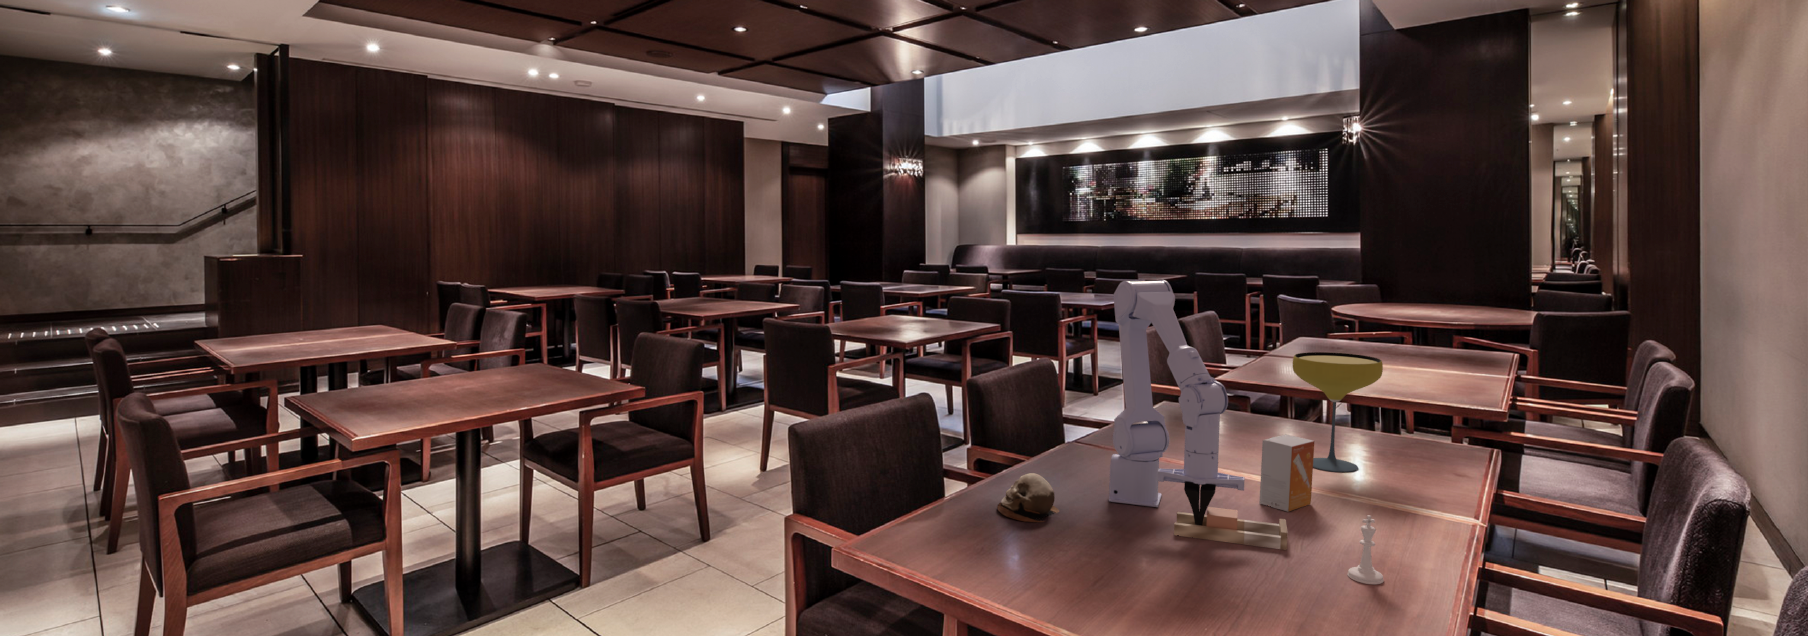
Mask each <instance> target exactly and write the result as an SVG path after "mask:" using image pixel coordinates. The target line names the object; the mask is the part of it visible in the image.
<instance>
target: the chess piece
mask: <svg viewBox="0 0 1808 636" xmlns="http://www.w3.org/2000/svg"><path fill="white" fill-rule="evenodd" d="M1375 521H1376V520H1375V519H1373V518H1372V515H1369V514H1368V515H1366V518H1362V523H1363V525H1361V526H1360V530H1361V534H1362V537H1363V539H1360V540H1359V544H1361V545H1362V548H1363V549H1362V554H1361V558H1360V562H1359V564H1358V565H1357V566H1353V567H1350V568H1349V569H1348V571H1347V577H1348V578H1350V579H1351V580H1353V581H1355V582H1358V583H1361V584H1366V585H1380V584H1383V583H1384V575H1383V574H1382V573H1381V572H1380V571H1377V570H1376V569H1375V567H1374V566H1373V561H1372V548H1371V547H1375V546H1376V543H1375V541H1374V540H1372V539H1373V537H1374V536H1375V533H1376V528H1375V527H1374V526H1372V525H1371V524H1372V523H1373V524H1374V523H1376V522H1375ZM1364 524H1365V525H1364Z"/></svg>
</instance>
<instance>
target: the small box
mask: <svg viewBox="0 0 1808 636" xmlns="http://www.w3.org/2000/svg"><path fill="white" fill-rule="evenodd" d="M1314 456H1315V440H1313V439H1308V438H1304V437H1299V436H1296V435H1290V434H1286V433H1285V434H1282V435H1279V436H1278V435H1277V436H1272V437H1271V438H1270V437H1269V438H1266V439H1263V440H1262V447H1261V461H1260V462H1261V465H1260V467H1261V468H1260V486H1259V487H1260V488H1259V504H1261V505H1264V506H1267V505H1269V506H1268V507H1270V506H1271V507H1270V508H1274V509H1278V510H1279V511H1280V510H1281V511H1284V512H1287V513H1288V512H1291V511H1294V510H1297V509H1301V508H1304V507H1306V506H1310V505H1311V503H1312V492H1313V491H1312V488H1313V487H1312V485H1313V472H1314V471H1313V469H1314V468H1313V458H1315V457H1314Z"/></svg>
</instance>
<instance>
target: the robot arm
mask: <svg viewBox="0 0 1808 636" xmlns="http://www.w3.org/2000/svg"><path fill="white" fill-rule="evenodd" d="M1175 301H1176V295H1175V294H1174V291H1173V289H1172V286H1171V284H1170V283H1169V282H1168V281H1167V280H1165V279H1158V280H1144V281H1141V280H1140V281H1139V280H1137V281H1136V280H1135V281H1129V280H1123V281H1121V282H1119V284H1118V286H1117V287H1116V289H1115V291H1114V293H1113V305H1114V316H1115V322H1116V323H1117V324H1118V331H1119V332H1118V333H1119V344H1120V356H1121V364H1122V365H1121V368H1122V379H1123V380H1122V381H1123V391H1124V392H1123V393H1124V402H1125V409H1123V410H1122V411H1121V412H1120V413H1119V414H1117V416H1116V417H1115V418H1114V420H1113V423H1114V425H1113V428H1114V429H1113V433H1112V444H1113V447H1114V450H1115V451H1116V453H1112V454H1111V457H1110V463H1109V464H1110V465H1109V483H1108V484H1109V485H1108V489H1109V491H1108V492H1109V495H1108V502H1110V503H1111V502H1112V503H1119V504H1127V505H1134V506H1135V505H1136V506H1143V507H1144V506H1145V507H1152V508H1159V504H1160V501H1161V499H1162V493H1161V492H1159V482H1161V483H1163V482H1169V483H1170V482H1171V483H1179V484H1180V483H1182V484H1184V486H1183V490H1184V494H1185V495H1186V497H1187V499H1188V502H1189V505H1190V508H1191V511H1192V514H1193V515H1194V521H1195V525H1199V526H1202V525H1203V519H1204V515H1206V513H1207V510H1208V507H1209V505H1210V503H1211V501H1212V499H1213V498H1214V496H1215V494H1216V489H1217V488H1225V489H1226V488H1227V489H1233V490H1234V489H1236V490H1237V491H1245V476H1238V475H1232V474H1226V473H1222V472H1219V449H1220V429H1221V428H1220V427H1221V426H1220V425H1221V422H1220V421H1221V414H1224V413H1225V412H1226V410H1227V409H1228V406H1229V397H1228V396H1229V395H1228V393H1227V390H1226V386H1225V385H1224V384H1223V383H1221V382H1219V381H1217V379H1216V378H1215V377H1212V376H1211V375H1210V373H1209V371H1208V368H1207V367H1206V365H1205V363H1204V362H1203V359H1202V357H1201V356H1200V353H1199V351H1198V350H1197V348H1195V347H1192V346H1189V345H1188V344H1187V341H1186V338H1185V335H1184V333H1183V330H1182V328H1181V325H1180V323H1179V319H1178V318H1177V316H1176V313H1175V311H1174V306H1175V303H1176V302H1175ZM1151 324H1152V326H1153V327H1154V329H1155V331H1156V333H1157V334H1158V336H1159V337H1160V339H1161V341H1162V343H1163V344H1164V346H1165V348H1166V349H1167V351H1168V352H1169V354H1168V356H1167V360H1166V363H1167V365H1168V367H1169V370H1170V372H1171V373H1172V376H1173V378H1174V380H1175V382H1176V384H1177V386H1178V388H1179V390H1180V396H1179V397H1178V404H1179V408H1180V411H1181V414H1182V422H1183V423H1182V424H1183V425H1185V426H1184V427H1185V428H1184V451H1183V452H1184V453H1183V454H1184V455H1183V457H1184V458H1183V468H1161V467H1160V459H1161V458H1163V455H1164V453H1165V452H1166V451H1167V450H1168V448H1169V444H1170V433H1169V431H1168V429H1167V426H1166V421H1165V416H1164V415H1163V414H1162V413H1160V411H1158V410H1157V409H1156V408H1154V404H1153V393H1152V381H1151V379H1152V378H1151V371H1150V369H1151V368H1150V357H1149V346H1148V336H1147V335H1148V334H1147V329H1148V327H1150V325H1151ZM1145 422H1146V423H1145Z"/></svg>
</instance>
